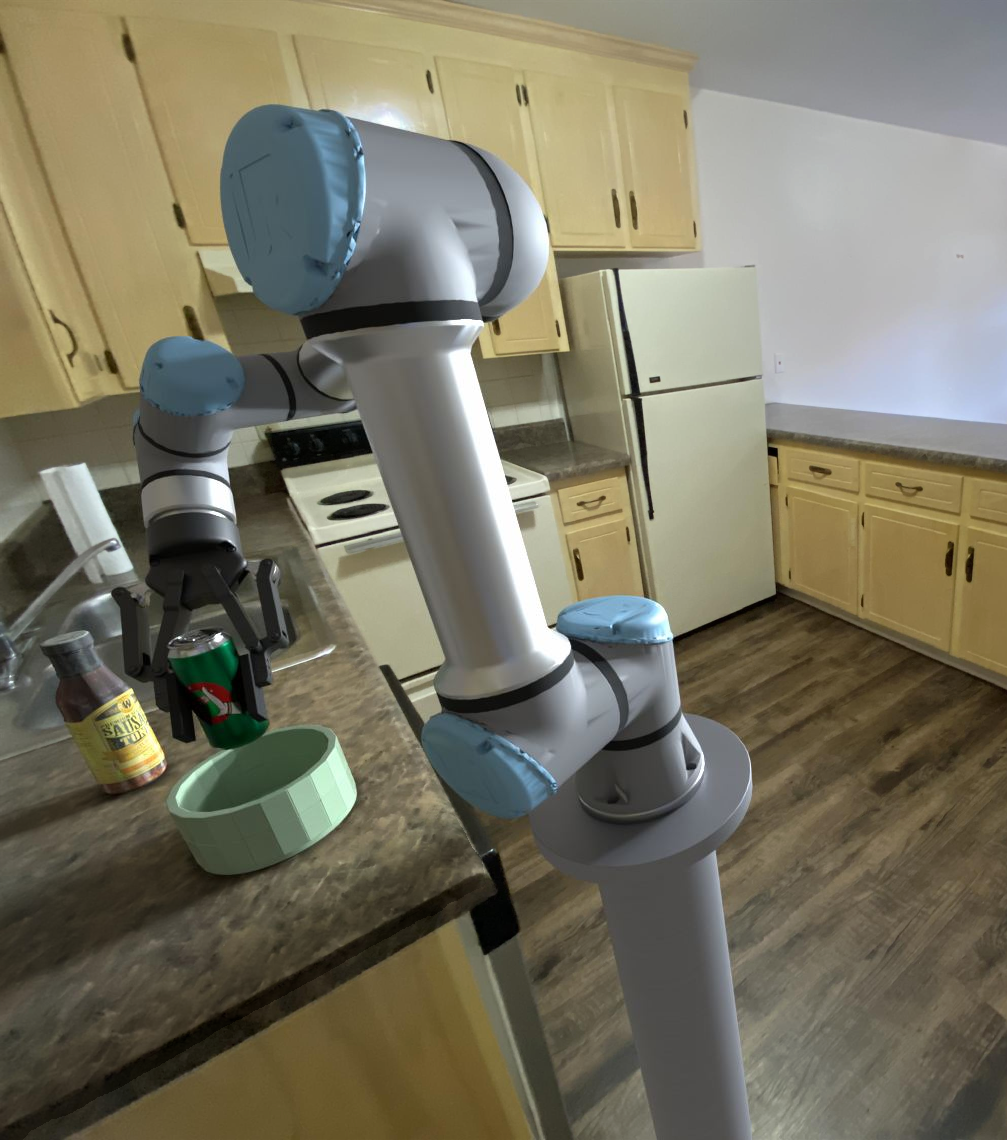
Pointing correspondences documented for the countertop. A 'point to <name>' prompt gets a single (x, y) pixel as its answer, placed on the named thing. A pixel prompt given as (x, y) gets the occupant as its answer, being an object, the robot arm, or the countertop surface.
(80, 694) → the sauce bottle
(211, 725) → the soda can
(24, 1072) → the countertop surface
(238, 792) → the bowl
